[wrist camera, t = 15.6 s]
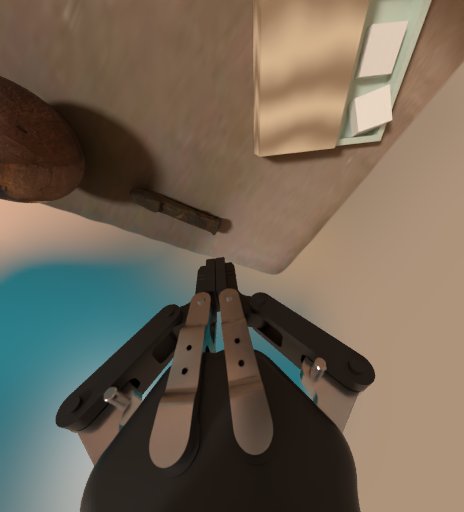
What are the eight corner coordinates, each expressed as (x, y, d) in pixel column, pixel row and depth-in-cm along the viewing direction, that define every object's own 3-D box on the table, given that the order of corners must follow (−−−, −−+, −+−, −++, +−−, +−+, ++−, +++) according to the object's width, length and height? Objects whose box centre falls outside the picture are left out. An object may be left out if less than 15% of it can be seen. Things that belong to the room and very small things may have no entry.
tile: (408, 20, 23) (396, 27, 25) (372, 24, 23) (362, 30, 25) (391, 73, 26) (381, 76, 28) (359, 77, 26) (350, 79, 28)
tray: (358, -18, 22) (372, -32, 20) (425, -24, 23) (445, -39, 21) (325, 145, 33) (332, 146, 31) (370, 140, 33) (380, 140, 31)
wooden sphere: (-24, 58, 23) (-273, -16, 11) (101, 110, 28) (15, 96, 16) (12, 170, 31) (-112, 196, 19) (104, 198, 36) (49, 233, 24)
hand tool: (221, 216, 41) (222, 225, 37) (214, 230, 43) (214, 239, 39) (137, 175, 34) (128, 181, 30) (133, 193, 36) (123, 201, 32)
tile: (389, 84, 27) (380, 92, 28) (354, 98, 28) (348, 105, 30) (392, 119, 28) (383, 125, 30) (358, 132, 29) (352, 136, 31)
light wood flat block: (252, -7, 22) (261, -37, 18) (350, -17, 22) (380, -48, 18) (254, 153, 33) (259, 156, 29) (320, 145, 33) (334, 148, 29)
